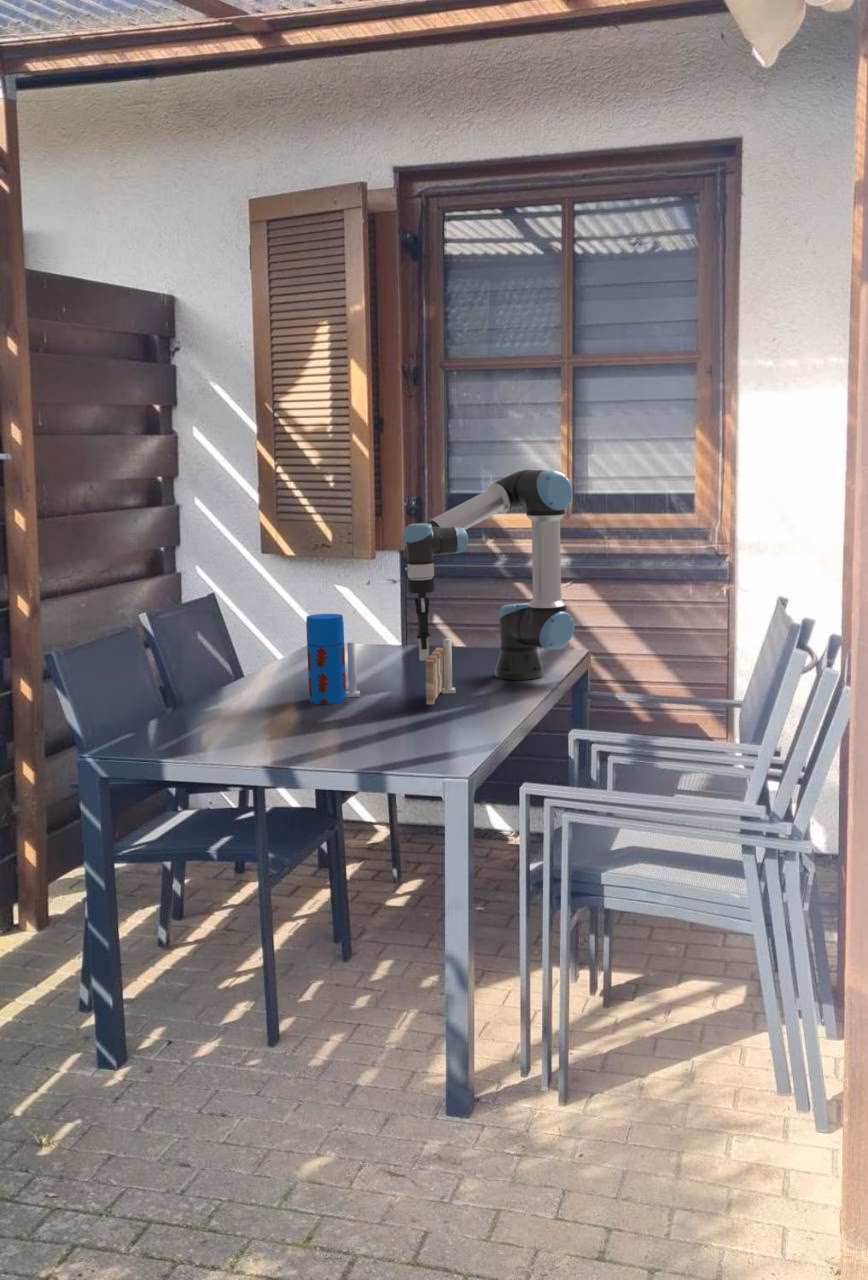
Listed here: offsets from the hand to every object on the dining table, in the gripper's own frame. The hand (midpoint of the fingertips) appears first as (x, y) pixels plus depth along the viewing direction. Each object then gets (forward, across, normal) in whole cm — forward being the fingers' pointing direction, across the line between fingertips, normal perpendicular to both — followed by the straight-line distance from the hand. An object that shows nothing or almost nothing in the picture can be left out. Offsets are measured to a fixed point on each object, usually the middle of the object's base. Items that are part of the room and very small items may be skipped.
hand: (424, 659), depth 396 cm
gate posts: (+13, -14, -6) cm, 20 cm away
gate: (+11, -2, +3) cm, 12 cm away
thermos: (+12, -8, -28) cm, 32 cm away
